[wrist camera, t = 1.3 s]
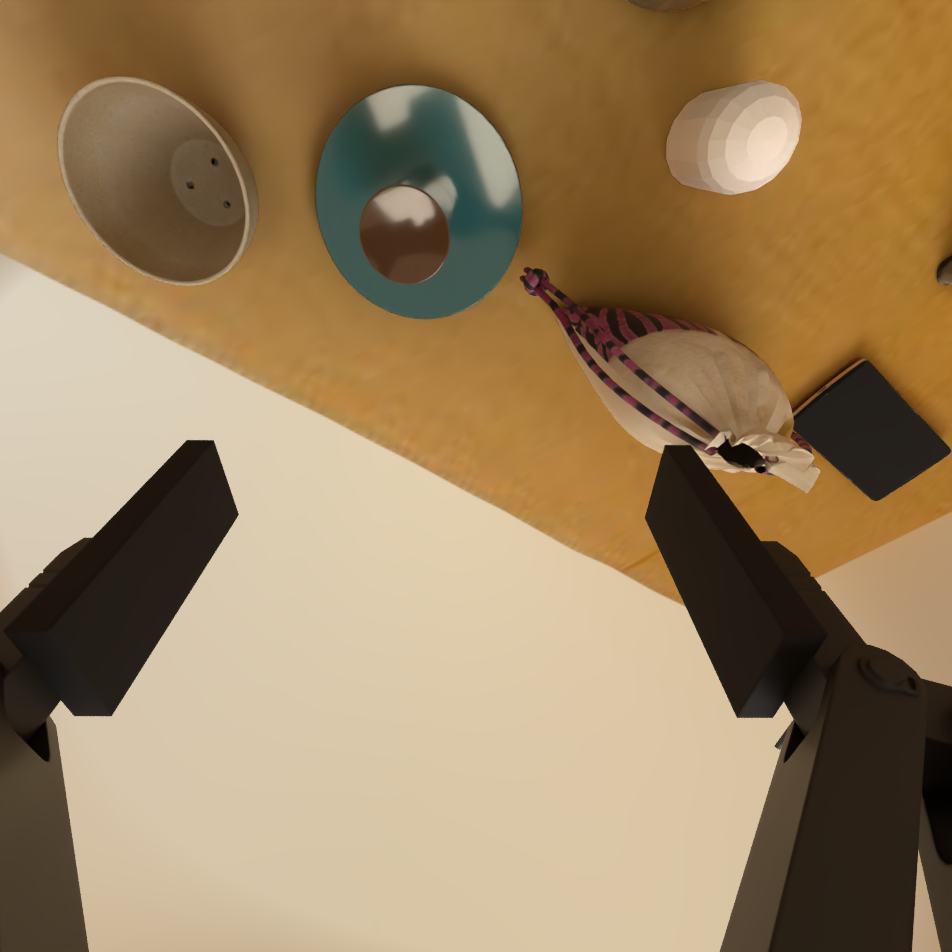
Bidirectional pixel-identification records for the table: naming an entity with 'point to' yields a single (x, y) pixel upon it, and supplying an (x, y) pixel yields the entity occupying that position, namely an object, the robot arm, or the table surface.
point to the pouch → (684, 387)
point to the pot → (666, 4)
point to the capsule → (734, 137)
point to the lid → (418, 201)
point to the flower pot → (157, 180)
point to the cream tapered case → (945, 272)
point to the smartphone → (868, 431)
